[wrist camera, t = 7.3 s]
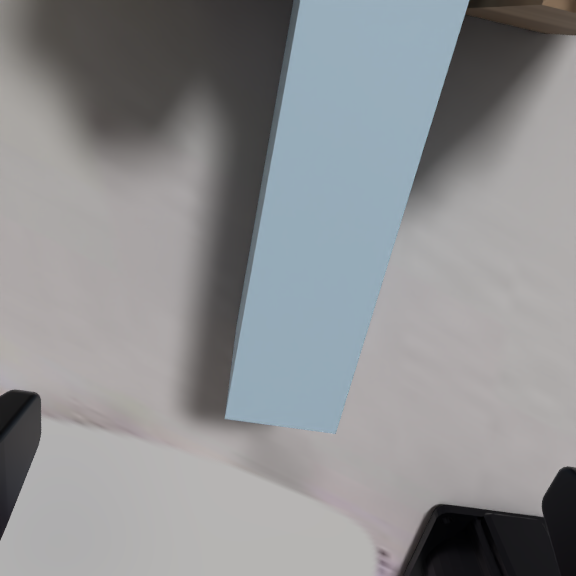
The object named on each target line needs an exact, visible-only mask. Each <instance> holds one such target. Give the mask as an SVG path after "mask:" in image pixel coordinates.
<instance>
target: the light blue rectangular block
mask: <svg viewBox="0 0 576 576" xmlns="http://www.w3.org/2000/svg"><path fill="white" fill-rule="evenodd" d="M468 3H469V0H294V1H293V6H292V12H291V18H290V23H289V29H288V35H287V40H286V46H285V52H284V58H283V63H282V69H281V75H280V80H279V86H278V92H277V97H276V103H275V109H274V115H273V120H272V126H271V132H270V137H269V143H268V149H267V154H266V160H265V166H264V171H263V177H262V183H261V189H260V194H259V200H258V206H257V211H256V217H255V223H254V228H253V234H252V240H251V245H250V251H249V257H248V263H247V268H246V274H245V280H244V285H243V291H242V297H241V302H240V308H239V314H238V320H237V325H236V333H235V341H234V349H233V357H232V365H231V373H230V381H229V389H228V397H227V405H226V413H225V419H229V420H237V421H244V422H251V423H259V424H266V425H274V426H281V427H289V428H296V429H303V430H311V431H318V432H326V433H333V434H336V431H337V428H338V424H339V421H340V418H341V415H342V411H343V408H344V405H345V402H346V398H347V395H348V392H349V389H350V385H351V382H352V379H353V376H354V372H355V369H356V366H357V363H358V359H359V356H360V353H361V350H362V347H363V343H364V340H365V337H366V334H367V330H368V327H369V324H370V321H371V317H372V314H373V311H374V308H375V304H376V301H377V298H378V295H379V291H380V288H381V285H382V282H383V278H384V275H385V272H386V269H387V266H388V262H389V259H390V256H391V253H392V249H393V246H394V243H395V240H396V236H397V233H398V230H399V227H400V223H401V220H402V217H403V214H404V210H405V207H406V204H407V201H408V197H409V194H410V191H411V188H412V185H413V181H414V178H415V175H416V172H417V168H418V165H419V162H420V159H421V155H422V152H423V149H424V146H425V142H426V139H427V136H428V133H429V129H430V126H431V123H432V120H433V116H434V113H435V110H436V107H437V104H438V100H439V97H440V94H441V91H442V87H443V84H444V81H445V78H446V74H447V71H448V68H449V65H450V61H451V58H452V55H453V52H454V48H455V45H456V42H457V39H458V35H459V32H460V29H461V26H462V23H463V19H464V16H465V13H466V10H467V6H468Z"/></svg>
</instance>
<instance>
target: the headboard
mask: <svg viewBox="0 0 576 576" xmlns="http://www.w3.org/2000/svg"><path fill="white" fill-rule="evenodd" d="M465 15H469V16H473V17H478V18H482V19H486V20H490V21H494V22H498V23H502V24H507V25H511V26H515V27H519V28H523V29H527V30H531V31H536V32H540V33H544V34H560V35H576V0H469V3H468V6H467V10H466V13H465Z"/></svg>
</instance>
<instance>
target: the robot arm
mask: <svg viewBox="0 0 576 576" xmlns="http://www.w3.org/2000/svg"><path fill="white" fill-rule="evenodd" d="M40 437H41V399H40V396H39V394H37V393H36V392H30V391H23V390H10V391H8V392H6V393H5V394H3V395H1V396H0V540H1V537H2V535H3V533H4V530H5V528H6V526H7V523H8V521H9V518H10V516H11V513H12V511H13V508H14V506H15V503H16V501H17V498H18V496H19V493H20V491H21V488H22V485H23V483H24V480H25V478H26V476H27V473H28V470H29V468H30V465H31V463H32V460H33V458H34V455H35V453H36V450H37V448H38V445H39V441H40ZM542 512H543V516H544V518H543V517H536V516H528V515H520V514H512V513H505V512H497V511H489V510H482V509H474V508H466V507H459V506H451V505H443V506H439V507H438V508H436V509H435V511H434V512H433V514H432V516H431V518H430V521H429V523H428V525H427V527H426V529H425V531H424V533H423V535H422V537H421V540H420V542H419V544H418V546H417V548H416V550H415V552H414V554H413V556H412V559H411V561H410V563H409V565H408V567H407V569H406V571H405V573H404V575H403V576H576V468H575V467H563V468H562V469H560V470H559V472H558V473H557V475H556V477H555V478H554V480H553V482H552V483H551V485H550V487H549V488H548V490H547V492H546V493H545V495H544V497H543V500H542Z"/></svg>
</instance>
